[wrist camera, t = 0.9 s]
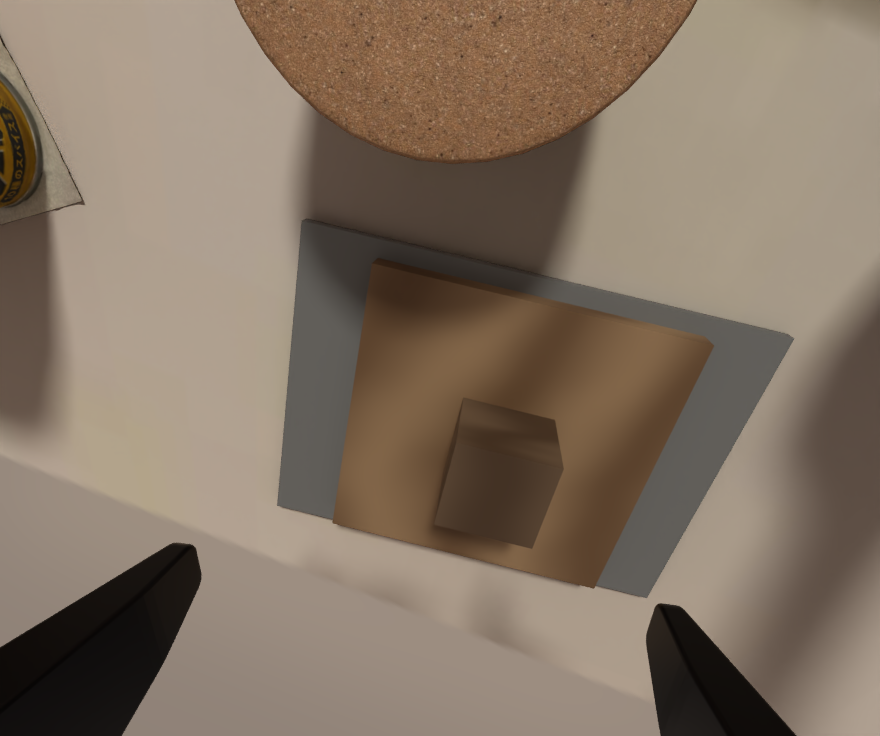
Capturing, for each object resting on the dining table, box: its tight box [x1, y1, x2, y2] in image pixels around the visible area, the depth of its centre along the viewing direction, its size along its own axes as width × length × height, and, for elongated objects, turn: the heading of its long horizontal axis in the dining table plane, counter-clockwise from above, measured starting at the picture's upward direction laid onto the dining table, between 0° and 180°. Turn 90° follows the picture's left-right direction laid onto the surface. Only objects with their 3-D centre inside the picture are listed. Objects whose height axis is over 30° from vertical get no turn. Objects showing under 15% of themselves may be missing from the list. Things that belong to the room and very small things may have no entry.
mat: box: [277, 219, 794, 598], centre depth 23 cm, size 20×15×1 cm
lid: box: [332, 258, 714, 588], centre depth 21 cm, size 14×14×4 cm
